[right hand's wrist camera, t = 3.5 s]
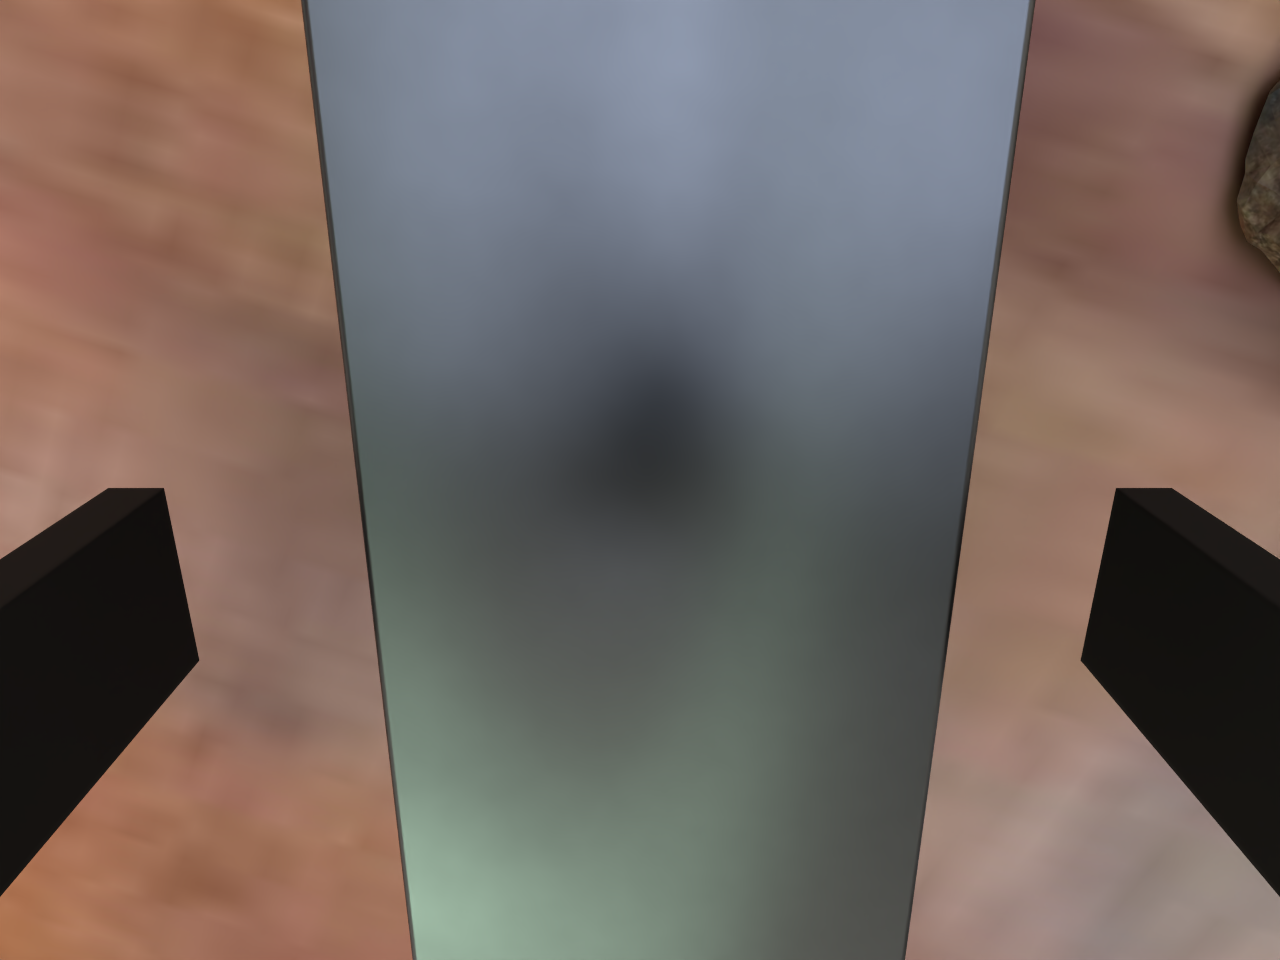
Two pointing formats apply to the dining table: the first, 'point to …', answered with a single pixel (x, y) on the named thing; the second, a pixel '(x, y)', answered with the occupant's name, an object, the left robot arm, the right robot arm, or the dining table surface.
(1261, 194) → the rock
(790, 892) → the box
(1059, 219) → the dining table surface
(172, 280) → the dining table surface
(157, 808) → the dining table surface
